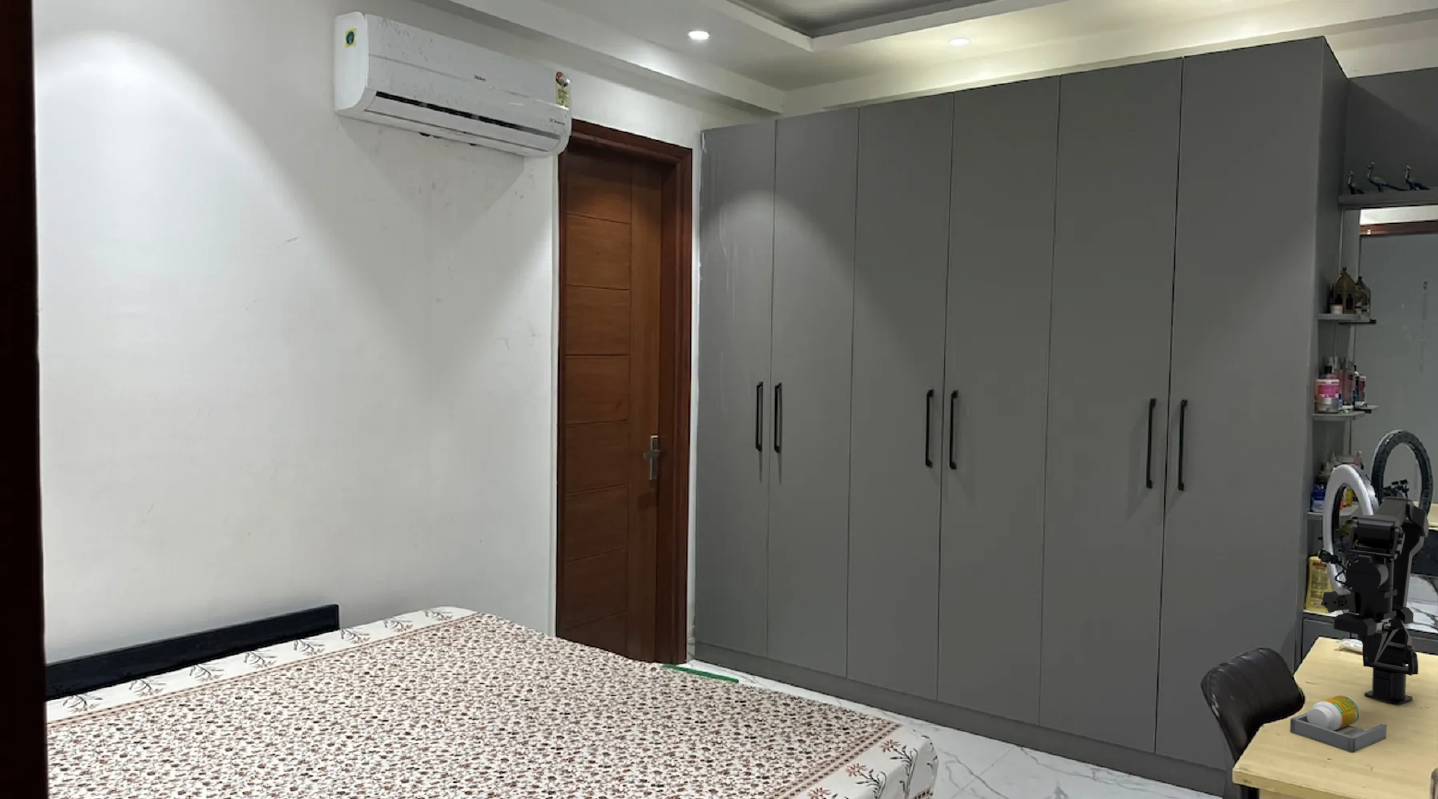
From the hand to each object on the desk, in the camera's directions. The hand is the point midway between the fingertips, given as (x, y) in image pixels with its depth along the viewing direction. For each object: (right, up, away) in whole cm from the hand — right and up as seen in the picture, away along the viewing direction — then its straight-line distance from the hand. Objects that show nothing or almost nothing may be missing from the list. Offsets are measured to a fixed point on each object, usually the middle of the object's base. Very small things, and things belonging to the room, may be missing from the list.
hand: (1371, 662), depth 189 cm
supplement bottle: (-6, -9, -2) cm, 10 cm away
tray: (-11, -12, -6) cm, 17 cm away
